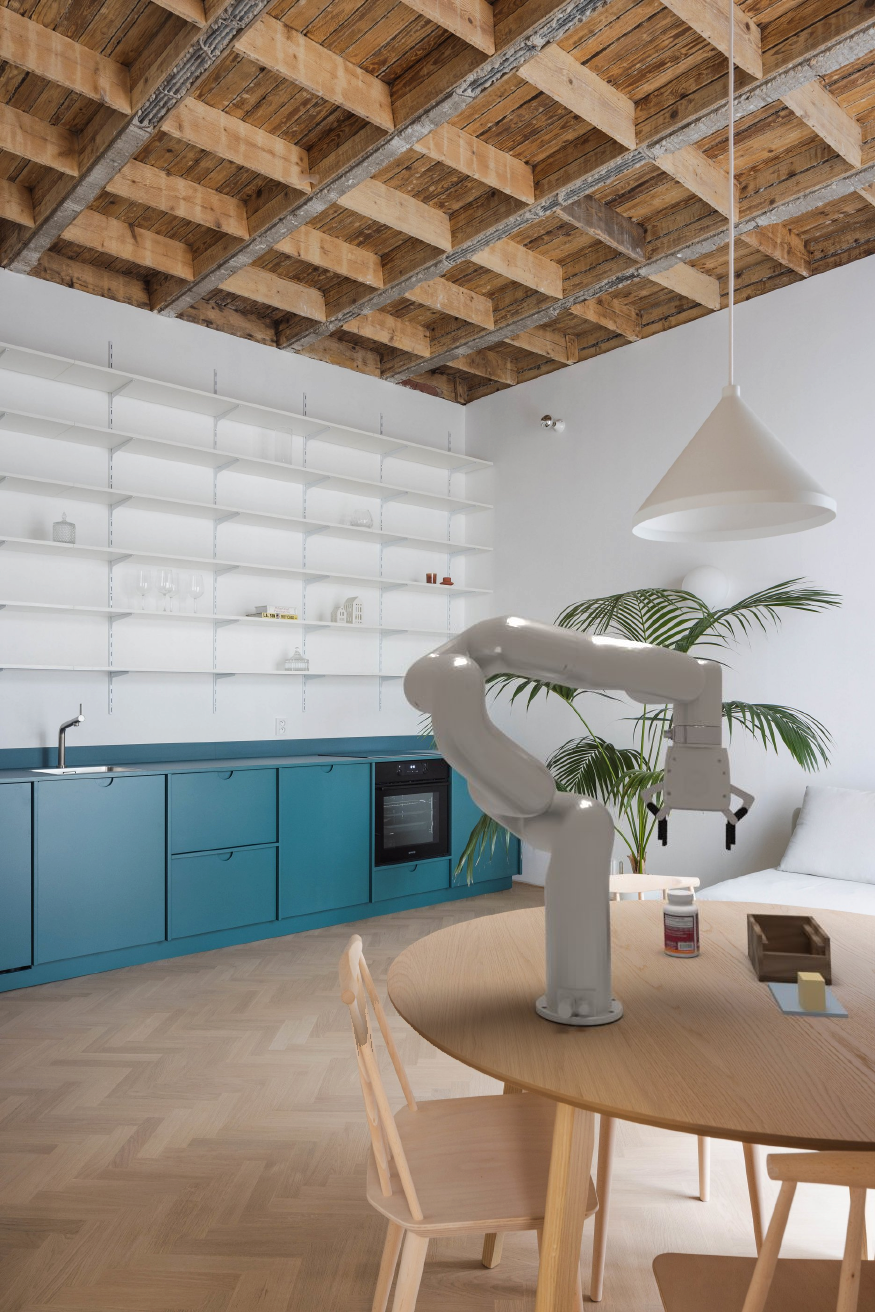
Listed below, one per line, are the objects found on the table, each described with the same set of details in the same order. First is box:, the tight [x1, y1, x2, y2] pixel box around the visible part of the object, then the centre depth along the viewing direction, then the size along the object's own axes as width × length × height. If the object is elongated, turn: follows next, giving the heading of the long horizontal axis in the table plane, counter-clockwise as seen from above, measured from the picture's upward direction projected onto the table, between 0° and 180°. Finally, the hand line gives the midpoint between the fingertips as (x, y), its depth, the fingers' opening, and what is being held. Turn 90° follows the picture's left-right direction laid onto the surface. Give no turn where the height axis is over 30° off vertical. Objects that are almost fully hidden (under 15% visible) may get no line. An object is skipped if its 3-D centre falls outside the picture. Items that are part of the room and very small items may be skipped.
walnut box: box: [746, 913, 833, 986], centre depth 153 cm, size 16×11×7 cm
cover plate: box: [767, 972, 849, 1019], centre depth 137 cm, size 14×9×5 cm, turn 169°
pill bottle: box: [662, 889, 701, 959], centre depth 164 cm, size 6×6×11 cm
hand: (696, 847), depth 142 cm, fingers open, 9 cm apart
